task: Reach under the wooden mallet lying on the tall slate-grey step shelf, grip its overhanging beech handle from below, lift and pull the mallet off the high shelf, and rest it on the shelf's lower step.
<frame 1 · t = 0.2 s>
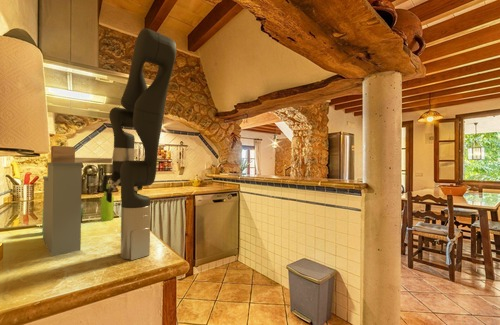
hand: (122, 201, 89), 17 cm above the counter, tool pointing down, fingers open, 8 cm apart
candle: (51, 233, 103), on the counter
soap dispenser: (108, 220, 127), on the counter
mallet: (62, 162, 85), point 32 cm above the counter, touching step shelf
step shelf: (60, 244, 89), on the counter
food container: (75, 223, 119), on the counter
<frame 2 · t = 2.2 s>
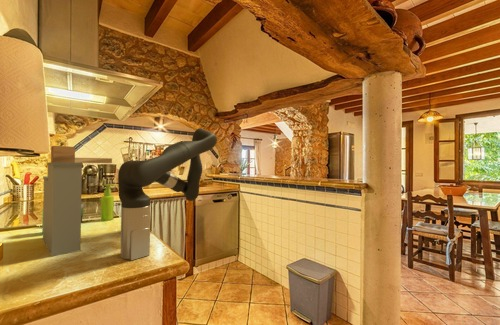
hand: (137, 162, 105), 33 cm above the counter, tool pointing upward, fingers open, 8 cm apart
nothing on the counter moved.
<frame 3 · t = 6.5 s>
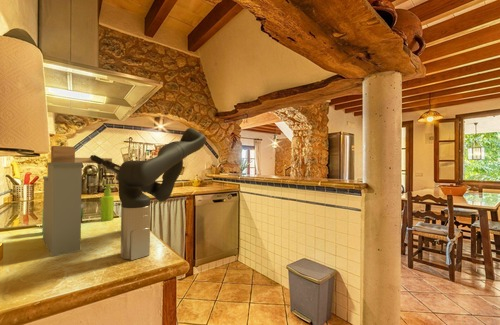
hand: (91, 157, 92), 34 cm above the counter, tool pointing upward, fingers closed on mallet, 2 cm apart
mallet: (62, 162, 85), point 32 cm above the counter, touching gripper, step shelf
everything else where it was.
when the fingers open (30 cm above the counter, at t = 13.6 s): mallet drops 1 cm, resting on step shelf.
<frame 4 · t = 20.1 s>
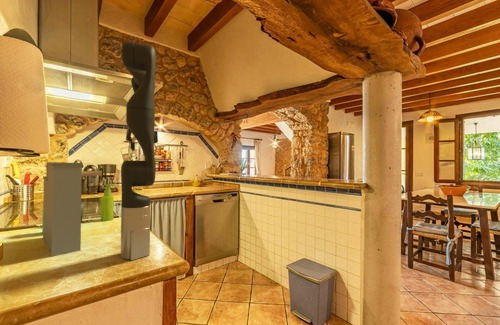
hand: (142, 151, 111), 38 cm above the counter, tool pointing down, fingers open, 8 cm apart
mallet: (56, 176, 95), point 26 cm above the counter, touching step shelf
everything else where it was.
at the end: mallet inside the target area (0.2 cm from its centre), point 26.1 cm above the counter; mallet tilted 0°; the gripper is holding nothing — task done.
